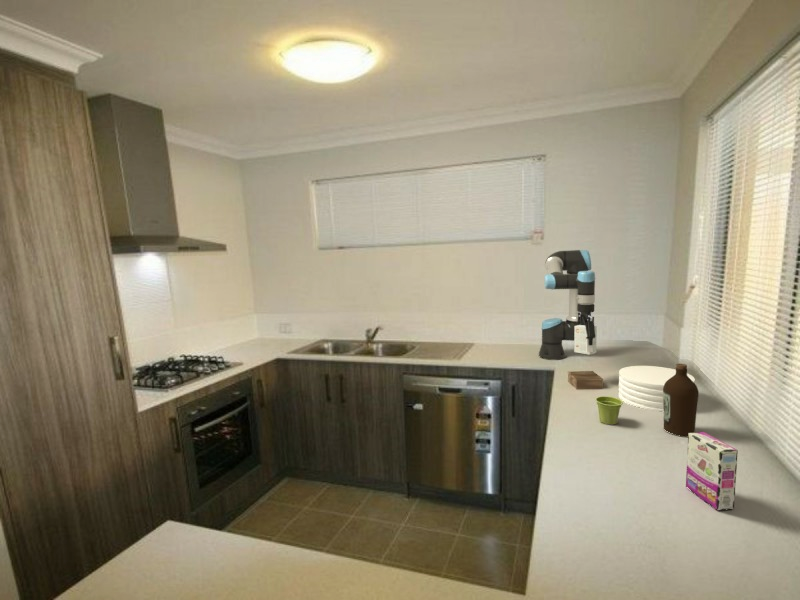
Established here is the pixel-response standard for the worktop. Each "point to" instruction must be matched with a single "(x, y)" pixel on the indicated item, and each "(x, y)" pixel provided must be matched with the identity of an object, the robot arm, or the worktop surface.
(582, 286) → the robot arm
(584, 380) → the block
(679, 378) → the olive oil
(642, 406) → the plate stack
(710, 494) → the candy bar box
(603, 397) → the plant pot
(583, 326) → the small box
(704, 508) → the worktop surface
